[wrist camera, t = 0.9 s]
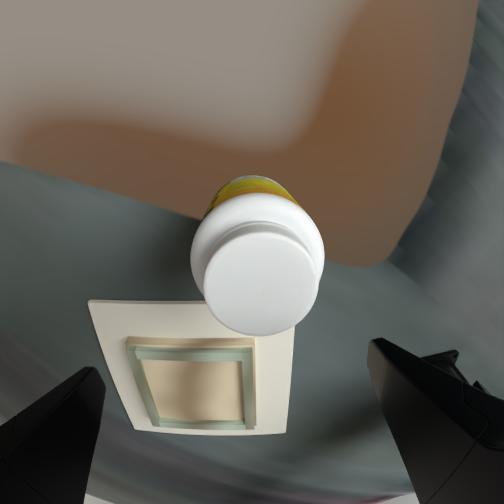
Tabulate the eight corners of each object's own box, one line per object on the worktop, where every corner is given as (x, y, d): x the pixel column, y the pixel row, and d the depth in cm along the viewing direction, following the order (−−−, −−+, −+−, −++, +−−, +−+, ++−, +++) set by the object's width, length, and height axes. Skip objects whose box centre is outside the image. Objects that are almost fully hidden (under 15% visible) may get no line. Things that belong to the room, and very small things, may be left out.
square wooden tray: (254, 337, 22) (255, 350, 21) (255, 418, 26) (256, 430, 24) (128, 336, 22) (122, 348, 20) (154, 415, 25) (151, 427, 24)
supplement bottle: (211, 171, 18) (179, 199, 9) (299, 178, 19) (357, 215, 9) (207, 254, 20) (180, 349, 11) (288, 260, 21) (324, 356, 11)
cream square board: (294, 297, 22) (296, 301, 21) (284, 429, 27) (285, 432, 27) (89, 299, 21) (87, 302, 21) (135, 425, 27) (134, 429, 26)
